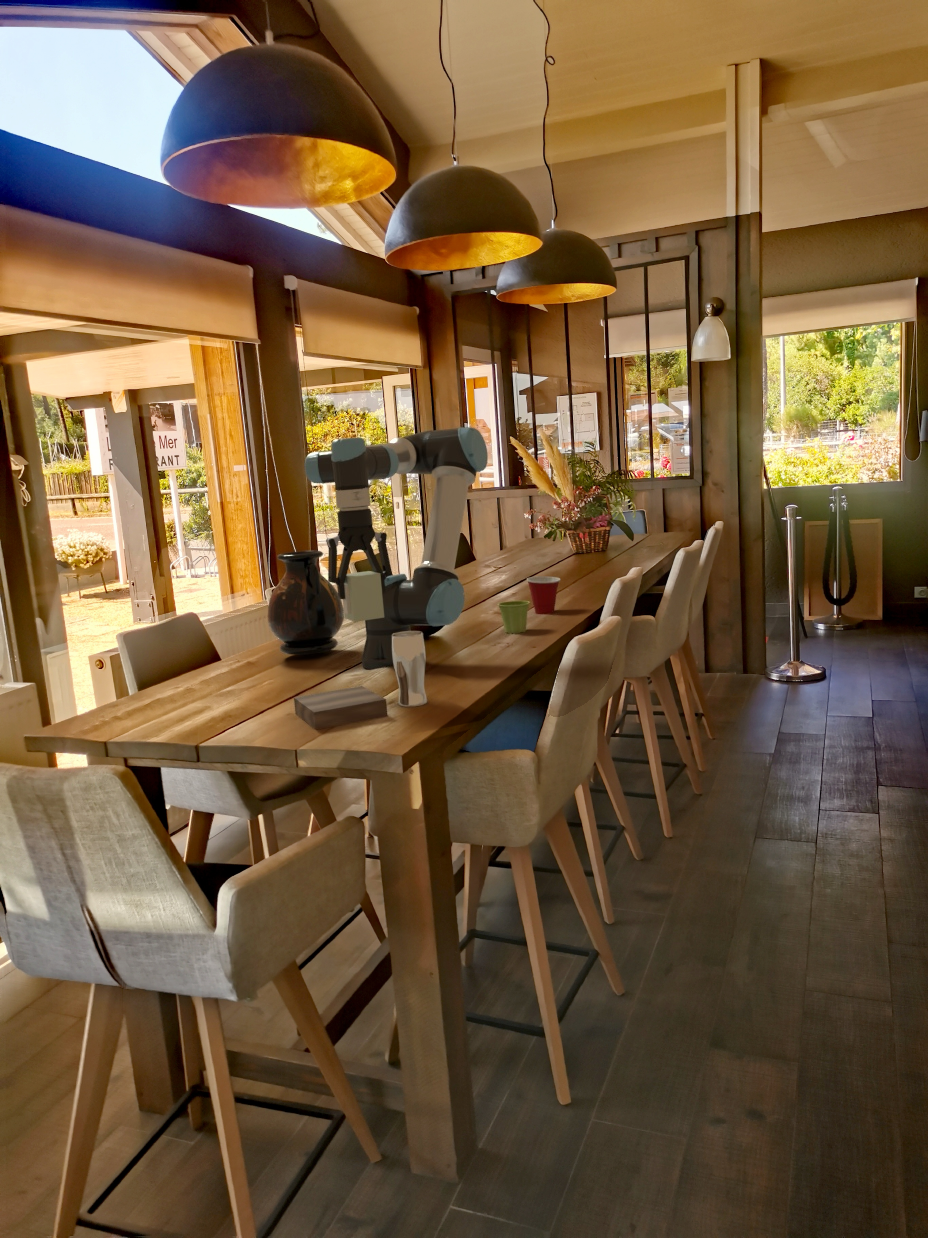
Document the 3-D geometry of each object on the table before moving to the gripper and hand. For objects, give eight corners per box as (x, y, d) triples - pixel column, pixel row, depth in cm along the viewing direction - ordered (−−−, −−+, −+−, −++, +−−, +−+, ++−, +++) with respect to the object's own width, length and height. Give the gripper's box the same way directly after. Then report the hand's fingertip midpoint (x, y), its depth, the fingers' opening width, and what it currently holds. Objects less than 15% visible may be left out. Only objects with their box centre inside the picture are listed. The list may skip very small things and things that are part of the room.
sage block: (344, 618, 212) (340, 574, 211) (373, 613, 215) (369, 570, 214) (354, 621, 206) (350, 577, 204) (384, 617, 209) (380, 573, 207)
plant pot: (501, 630, 277) (499, 601, 276) (532, 628, 276) (531, 599, 274) (497, 635, 268) (495, 606, 266) (530, 634, 266) (528, 604, 265)
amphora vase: (360, 648, 264) (351, 549, 260) (290, 661, 252) (279, 558, 248) (326, 640, 282) (317, 547, 277) (259, 651, 270) (249, 555, 266)
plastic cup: (550, 618, 291) (548, 580, 289) (522, 617, 298) (519, 579, 296) (568, 612, 300) (566, 575, 298) (540, 611, 306) (538, 575, 304)
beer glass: (398, 700, 200) (392, 631, 198) (430, 698, 200) (424, 629, 198) (394, 708, 193) (388, 637, 191) (428, 706, 193) (422, 635, 191)
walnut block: (295, 716, 195) (293, 697, 195) (363, 703, 201) (361, 685, 201) (315, 732, 182) (313, 712, 181) (387, 718, 188) (386, 699, 187)
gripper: (315, 513, 199) (326, 618, 203) (401, 504, 207) (410, 606, 211) (305, 512, 206) (316, 614, 210) (389, 504, 214) (398, 603, 218)
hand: (363, 610), depth 210 cm, fingers closed on sage block, 7 cm apart
